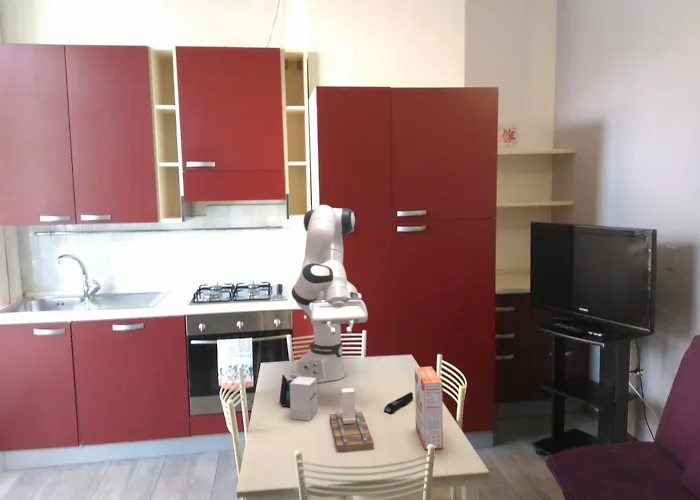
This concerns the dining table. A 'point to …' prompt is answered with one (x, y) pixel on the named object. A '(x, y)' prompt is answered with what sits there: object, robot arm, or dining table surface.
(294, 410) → the supplement box
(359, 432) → the switch track
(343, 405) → the switch tab
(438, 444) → the cracker box
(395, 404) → the electric trimmer
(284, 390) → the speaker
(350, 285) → the robot arm
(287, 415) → the dining table surface
